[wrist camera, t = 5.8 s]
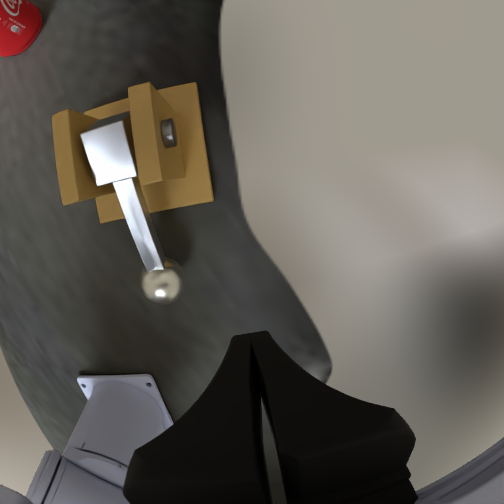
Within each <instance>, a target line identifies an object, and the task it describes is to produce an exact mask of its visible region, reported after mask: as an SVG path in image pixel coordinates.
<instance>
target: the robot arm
mask: <svg viewBox="0 0 504 504" xmlns="http://www.w3.org/2000/svg"><path fill="white" fill-rule="evenodd" d="M77 381H78V383H79V385H80V387H81V389H82V390H83V392H84V394H85V396H86V397H87V399H88V402H87V404H86V406H85V408H84V410H83V412H82V414H81V416H80V418H79V420H78V422H77V424H76V426H75V428H74V431H73V433H72V435H71V437H70V439H69V442H68V444H67V446H66V448H65V450H64V451H63V453H62V455H61V453H60V452H59V451H57V450H56V449H53V450H52V451H51V450H50V451H46V452H45V454H44V456H43V458H42V460H41V463H40V465H39V467H38V469H37V471H36V474H35V476H34V478H33V480H32V483H31V485H30V487H29V489H28V492H27V494H26V497H25V496H23V495H22V494H20V493H18V492H16V491H14V490H12V489H9V488H7V487H5V486H3V485H0V504H273V500H272V495H271V489H270V483H269V478H268V472H267V466H266V460H265V454H264V445H263V429H262V408H261V398H262V401H263V405H264V408H265V411H266V415H267V418H268V421H269V425H270V428H271V431H272V435H273V438H274V442H275V446H276V450H277V455H278V460H279V466H280V471H281V476H282V481H283V486H284V491H285V497H286V502H287V504H504V438H502V439H501V440H500V441H498V442H497V443H496V444H494V445H493V446H492V447H490V448H489V449H487V450H486V451H485V452H483V453H482V454H480V455H479V456H477V457H476V458H474V459H473V460H471V461H470V462H468V463H467V464H465V465H463V466H462V467H460V468H458V469H457V470H455V471H453V472H452V473H450V474H448V475H446V476H445V477H443V478H441V479H439V480H437V481H435V482H434V483H432V484H430V485H428V486H426V487H424V488H422V489H420V490H418V491H415V490H414V488H413V486H412V484H411V482H410V481H409V478H410V477H411V473H410V471H409V469H408V468H407V466H406V464H407V462H408V460H409V457H410V455H411V453H412V451H413V448H414V445H415V441H416V438H415V435H414V433H413V432H412V430H411V428H410V427H409V425H408V424H407V423H406V421H405V420H404V419H403V418H402V417H401V416H400V415H399V413H397V412H396V410H395V409H394V408H389V407H385V406H381V405H377V404H373V403H369V402H365V401H362V400H359V399H357V398H354V397H351V396H348V395H346V394H344V393H342V392H340V391H338V390H335V389H333V388H331V387H329V386H327V385H326V384H324V383H323V382H321V381H319V380H318V379H316V378H315V377H313V376H312V375H310V374H309V373H308V372H306V371H305V370H304V369H303V368H301V367H300V366H299V365H298V364H297V363H295V362H294V361H293V360H292V359H291V358H290V357H289V356H288V355H287V354H286V353H285V352H284V351H283V350H282V349H281V348H280V347H279V345H278V344H277V343H276V342H275V341H274V339H273V338H272V336H271V335H270V333H269V332H267V331H260V332H254V333H248V334H242V335H235V336H233V337H232V339H231V342H230V345H229V348H228V350H227V352H226V355H225V357H224V359H223V361H222V363H221V365H220V367H219V369H218V371H217V372H216V374H215V376H214V377H213V379H212V380H211V382H210V384H209V385H208V387H207V388H206V389H205V391H204V392H203V393H202V395H201V396H200V397H199V399H198V400H197V401H196V402H195V403H194V404H193V405H192V407H191V408H190V409H189V410H188V411H187V412H186V413H185V414H184V415H183V416H182V417H181V418H180V419H179V420H178V421H176V422H175V423H173V421H172V419H171V417H170V415H169V413H168V410H167V408H166V406H165V404H164V402H163V399H162V397H161V395H160V393H159V390H158V388H157V386H156V384H155V381H154V379H153V377H152V376H151V375H149V374H133V375H99V376H79V377H78V378H77ZM148 383H151V384H148ZM60 455H61V456H60Z"/></svg>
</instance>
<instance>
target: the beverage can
mask: <svg viewBox="0 0 504 504" xmlns="http://www.w3.org/2000/svg"><path fill="white" fill-rule="evenodd" d="M42 23H43V20H42V17H41V15H40V10H39V9H38V8H37V7H36V6H35V5H33V4H32V3H31V2H29V1H28V0H0V56H3V57H7V56H11V55H12V56H15V55H18V54H20V53H22V52H24V51H25V50H26V49H27V48H28V47H30V45H31V44H32V43H33V42H34V41H35V39H36V38H37V36H38V34H39V33H40V30H41V28H42Z"/></svg>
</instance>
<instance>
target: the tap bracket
mask: <svg viewBox="0 0 504 504" xmlns="http://www.w3.org/2000/svg"><path fill="white" fill-rule="evenodd" d="M128 96H129V98H126V99H122V100H119V101H116V102H113V103H109V104H106V105H103V106H100V107H97V108H94V109H92V110H89V111H86V112H84V114H82V113H79V112H76V111H73V110H71V109H66V110H63V111H61V112H59V113H56V114H54V115H52V126H53V139H54V149H55V158H56V166H57V173H58V180H59V186H60V192H61V198H62V203H63V205H64V206H65V205H69V204H72V203H76V202H80V201H84V200H88V199H92V198H95V200H96V205H97V210H98V215H99V220H100V223H105V222H110V221H114V220H119V219H123V218H125V216H124V213H123V211H122V208H121V205H120V203H119V200H118V197H117V194H116V191H115V189H114V186H113V183H109V184H106V185H102V186H97V185H96V182H95V179H94V176H93V174H92V171H91V168H90V165H89V162H88V159H87V156H86V153H85V150H84V147H83V143H82V140H81V137H80V134H81V133H82V132H83V131H84V130H86V129H87V128H88V127H89V126H91V125H92V124H93V123H95V122H96V121H97V120H100V119H104V118H107V117H110V116H113V115H116V114H120V113H123V112H127V111H130V116H131V124H132V133H133V140H134V148H135V155H136V161H137V168H138V174H139V175H138V179H139V182H140V185H141V188H142V192H143V195H144V198H145V201H146V204H147V207H148V210H149V213H152V212H157V211H162V210H167V209H173V208H178V207H183V206H189V205H194V204H200V203H206V202H211V201H214V195H213V189H212V182H211V176H210V170H209V163H208V157H207V150H206V144H205V137H204V130H203V123H202V116H201V109H200V102H199V95H198V88H197V84H196V82H193V83H188V84H183V85H178V86H173V87H169V88H164V89H160V90H156V89H155V88H154V86H153V85H152V84H151V83H150V82H146V83H143V84H139V85H135V86H132V87H129V88H128Z"/></svg>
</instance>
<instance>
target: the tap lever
mask: <svg viewBox="0 0 504 504" xmlns="http://www.w3.org/2000/svg"><path fill="white" fill-rule="evenodd" d="M80 137H81V140H82V143H83V147H84V150H85V153H86V156H87V159H88V162H89V165H90V168H91V171H92V174H93V176H94V179H95V182H96V185H97V186H102V185H106V184H109V183H113V186H114V189H115V191H116V194H117V197H118V200H119V203H120V205H121V208H122V211H123V213H124V216H125V219H126V221H127V224H128V227H129V229H130V232H131V234H132V237H133V239H134V242H135V244H136V246H137V249H138V251H139V254H140V256H141V258H142V261H143V263H144V265H145V266H144V268H143V269H142V271H141V274H140V286H141V290H142V292H143V293H144V295H145V296H146V297H147V298H148V299H149V300H150V301H152V302H154V303H157V304H170V303H172V302H174V301H176V300H177V299H179V298H180V296H181V295H182V294H183V292H184V290H185V286H186V276H185V273H184V270H183V268H182V267H181V266H180V265H179V264H178V263H177V262H176V261H175V260H173V259H170V258H166V257H165V256H164V254H163V251H162V248H161V245H160V242H159V240H158V237H157V234H156V231H155V228H154V225H153V222H152V219H151V216H150V213H149V210H148V207H147V204H146V201H145V198H144V195H143V192H142V188H141V185H140V182H139V179H138V175H139V174H138V168H137V161H136V155H135V148H134V140H133V133H132V124H131V116H130V111H127V112H123V113H120V114H116V115H113V116H110V117H107V118H104V119H100V120H97V121H96V122H95V123H93V124H92V125H91V126H89V127H88V128H87V129H86V130H84V131H83V132H82V133H81V134H80Z"/></svg>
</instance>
